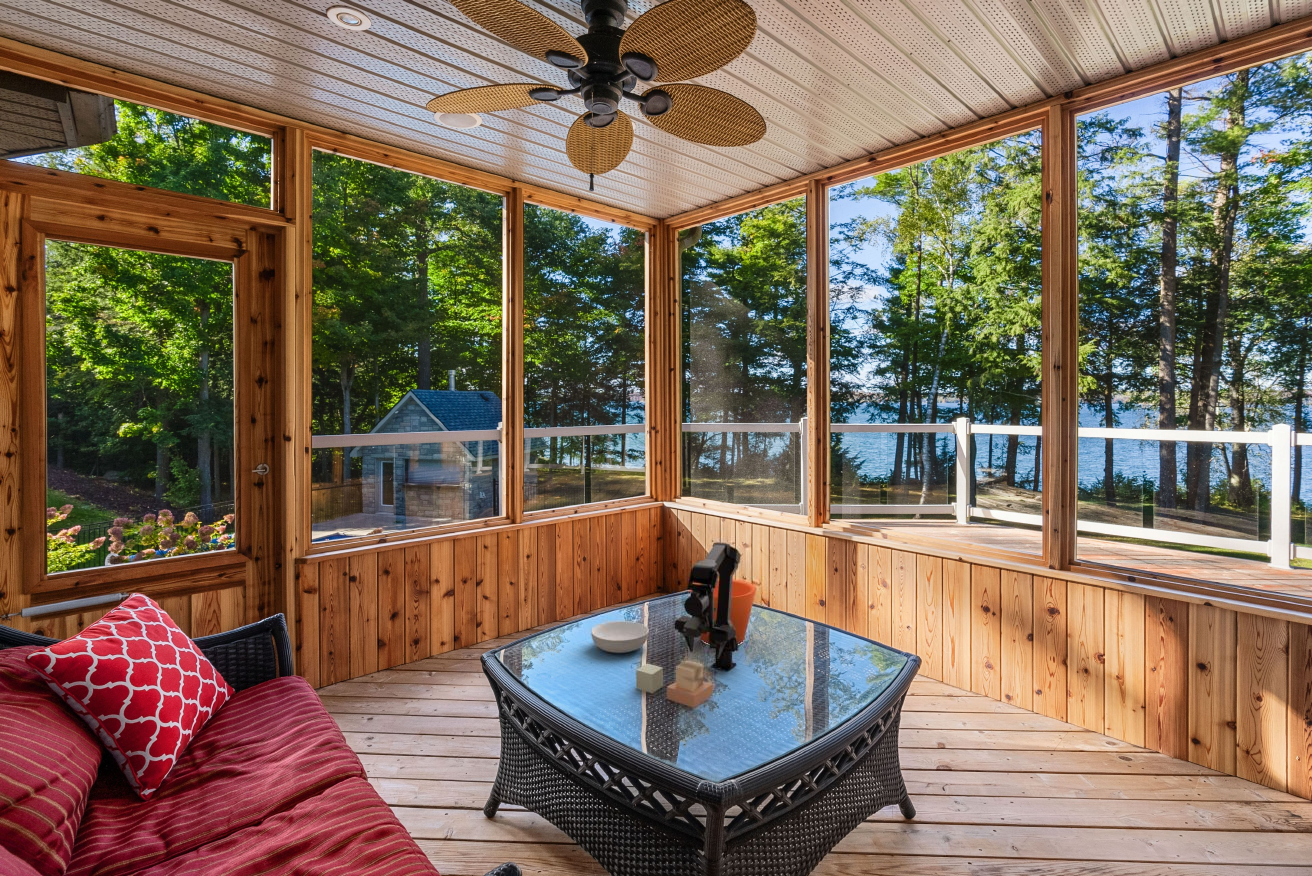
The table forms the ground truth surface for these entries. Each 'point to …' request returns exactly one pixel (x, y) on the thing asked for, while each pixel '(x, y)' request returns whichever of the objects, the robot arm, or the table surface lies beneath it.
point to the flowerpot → (736, 607)
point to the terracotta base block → (690, 694)
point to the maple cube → (689, 675)
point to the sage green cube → (649, 678)
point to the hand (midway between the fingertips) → (704, 655)
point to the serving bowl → (619, 636)
